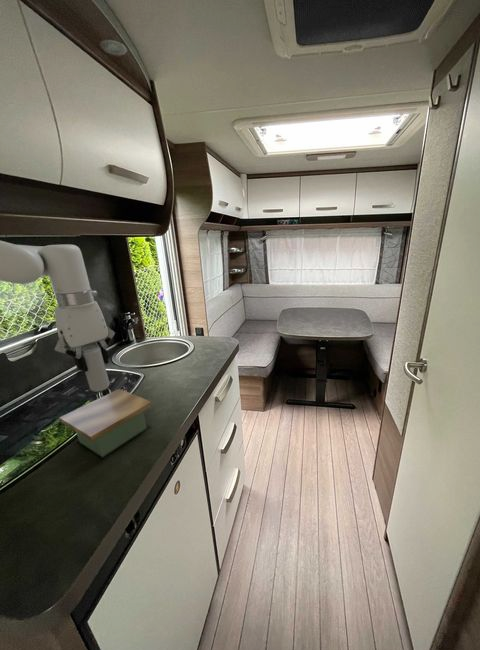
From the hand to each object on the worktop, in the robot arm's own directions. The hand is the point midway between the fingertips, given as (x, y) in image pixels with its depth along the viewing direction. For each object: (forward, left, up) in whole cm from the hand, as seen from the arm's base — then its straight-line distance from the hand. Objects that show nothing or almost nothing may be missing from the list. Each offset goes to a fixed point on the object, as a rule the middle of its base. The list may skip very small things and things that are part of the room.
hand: (94, 365), depth 74 cm
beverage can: (0, 0, -7) cm, 7 cm away
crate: (0, 0, -23) cm, 23 cm away
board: (0, 0, -15) cm, 15 cm away
